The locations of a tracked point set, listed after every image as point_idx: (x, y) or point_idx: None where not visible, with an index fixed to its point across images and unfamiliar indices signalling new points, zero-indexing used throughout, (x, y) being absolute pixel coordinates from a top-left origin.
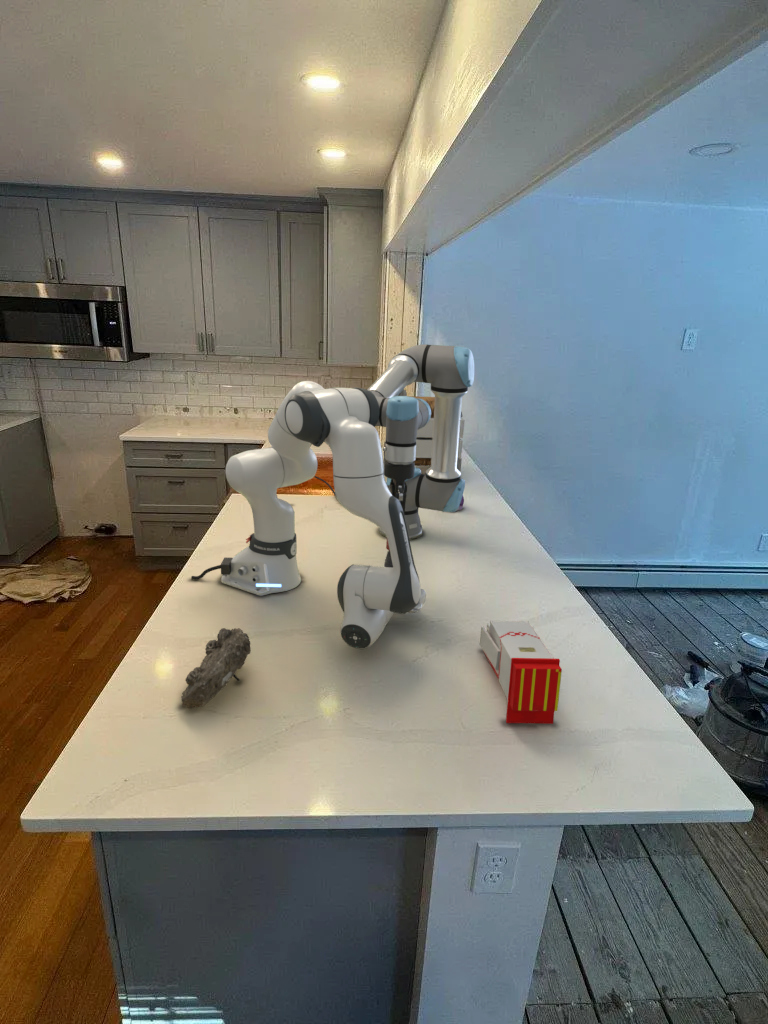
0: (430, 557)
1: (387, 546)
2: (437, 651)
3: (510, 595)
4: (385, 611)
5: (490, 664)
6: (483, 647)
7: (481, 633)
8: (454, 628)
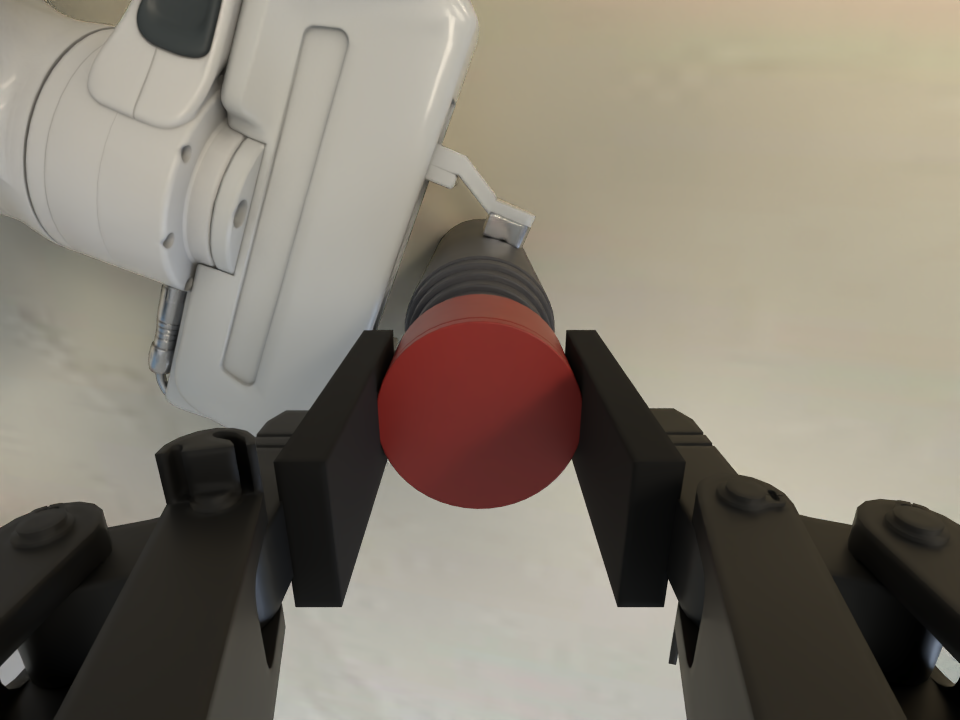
0: (948, 497)
1: (438, 311)
2: (114, 409)
3: (546, 706)
4: (5, 214)
5: None
6: None
7: None
8: None
